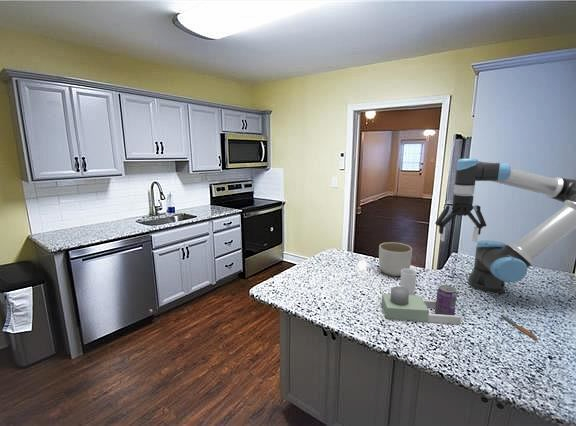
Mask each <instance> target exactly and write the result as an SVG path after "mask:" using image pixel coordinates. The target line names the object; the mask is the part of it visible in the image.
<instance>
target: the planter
mask: <svg viewBox="0 0 576 426" xmlns="http://www.w3.org/2000/svg"><path fill="white" fill-rule="evenodd" d="M412 254H413V248H412V246H410V245H409V244H405V243H402V242H395V241H393V242H392V241H390V242H383V243H380V244H379V246H378V264H379V265H378V266H379V268H380V270H381V272H383V273H384V274H386V275H388V276H392V277H401V270H402V269H411V263H412V257H413V256H412Z"/></svg>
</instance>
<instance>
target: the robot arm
mask: <svg viewBox="0 0 576 426" xmlns="http://www.w3.org/2000/svg"><path fill="white" fill-rule="evenodd" d="M456 163H457V164H456V168H455V178H454V180H455V181H454V189H453V193H454V194H453V197H452V205H448V204H444V208H443V210H442V212H441V214H440V215H439V216H438V218H437V219H436V221H435V223H434V224H435V225H436V226H438V227H439V228H438V233H439V234H440V239H439V240H440V241H441V242H445V238H446V237H445V236H446V228H447V227H446V225H447V224H449V223H450V222H451V220H452V219H454V218H455V217H457V216H458V217H459V216H463V217H466V216H468V218H469V219H470V221H472V222H473V224H474V225H475V226H473V234H472V241H473V242H474V243H476V246H475V256H474V265H473V269H472V271H471V273H470V274H469V276H468V277H467V278H468V279H467V283H468V285H470V287H472V288H474V289H477V290H480V291H483V292H487V293H494V294H495V293H502V292H504V291H505V288H506V287H505V286H506V284H505V283H516V282H520V281H521V280H523V279H524V278H525V277H526V276H527V274H528V268H529V267H531V266H532V265H533V260H534V258H536V257H538V256H539V255H540V254H542V253H543V252H545V251H546V250H548V248H550V247H551V246H553V245H555V244H556V243H557V242H559V241H560V240H561V239H563V238H564V237H566V236H567V235H569V234H570V233H571V232H573V231H574V230H575V229H576V179H575V178H565V177H560V176H556V177H554V178H553V177H550V176H549V177H548V176H545V175H541V174H537V173H532V172H528V171H523V170H519V169H515V168H511V165H510V164H509V163H507V162H505V163H504V162H489V161H488V162H487V161H486V162H484V161H479V159H477V158H459V159H458V160H457V162H456ZM476 182H492V183H498V184H502V185H505V186H508V187H512V188H513V187H514V188H517V189H520V190H521V189H522V190H526V191H530V192H534V193H538V194H541V195H545V196H546V197H547V198H548V199H551V200H556V201H559V202H562V203H564V206H563V207H561V208H560V209H559V210H558V211H556V212H555V213H553V215H551V216H550V217H548V218H547V219H545V221H543V222H542V223H540V224H539V225H538V226H536V227H534V229H532V230H531V231H530V232H528V233H527V234H525V236H523V237H522V238H520V239H519V240H518V241H516V242H515V243H512V244H511V243H510V244H509V243H508V244H506V242H503V241H502V242H501V241H495V240H479V241H478V237H479V236H480V235H481V232H482V231H481V230H482V229H483V228H484V227H487V222H486V221H485V219H484V215H483V213H482V212H481V206H480V205H478V204H475V205H473V204H474V194H475V189H476V188H475V187H476ZM451 210H452V211H451ZM473 210H474V211H475V212H474V213H475V214H476V216H477V218H478V219H477V218H476V217H475V215H473V213H472V211H473ZM449 211H451V212H450V213H449ZM448 213H449V214H448Z"/></svg>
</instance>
